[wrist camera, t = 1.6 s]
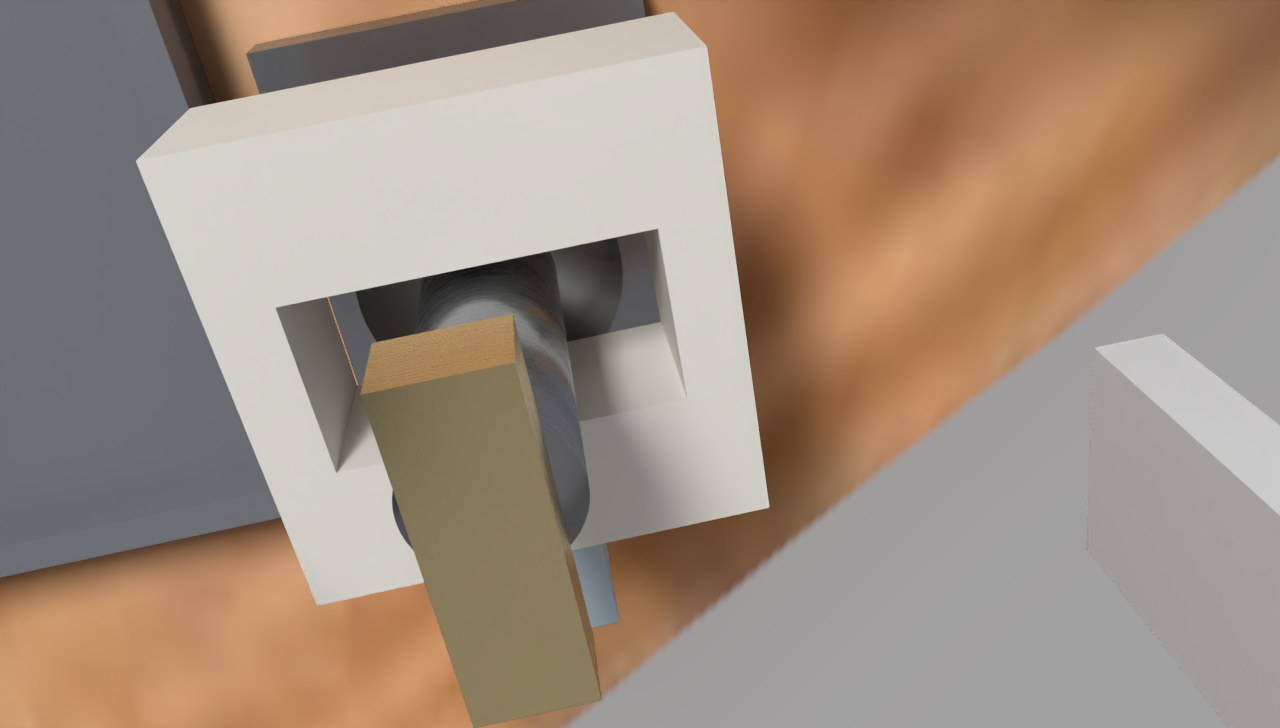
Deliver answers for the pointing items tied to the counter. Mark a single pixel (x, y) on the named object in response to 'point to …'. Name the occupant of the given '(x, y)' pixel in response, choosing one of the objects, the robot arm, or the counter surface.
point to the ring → (462, 238)
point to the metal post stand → (485, 388)
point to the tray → (103, 298)
